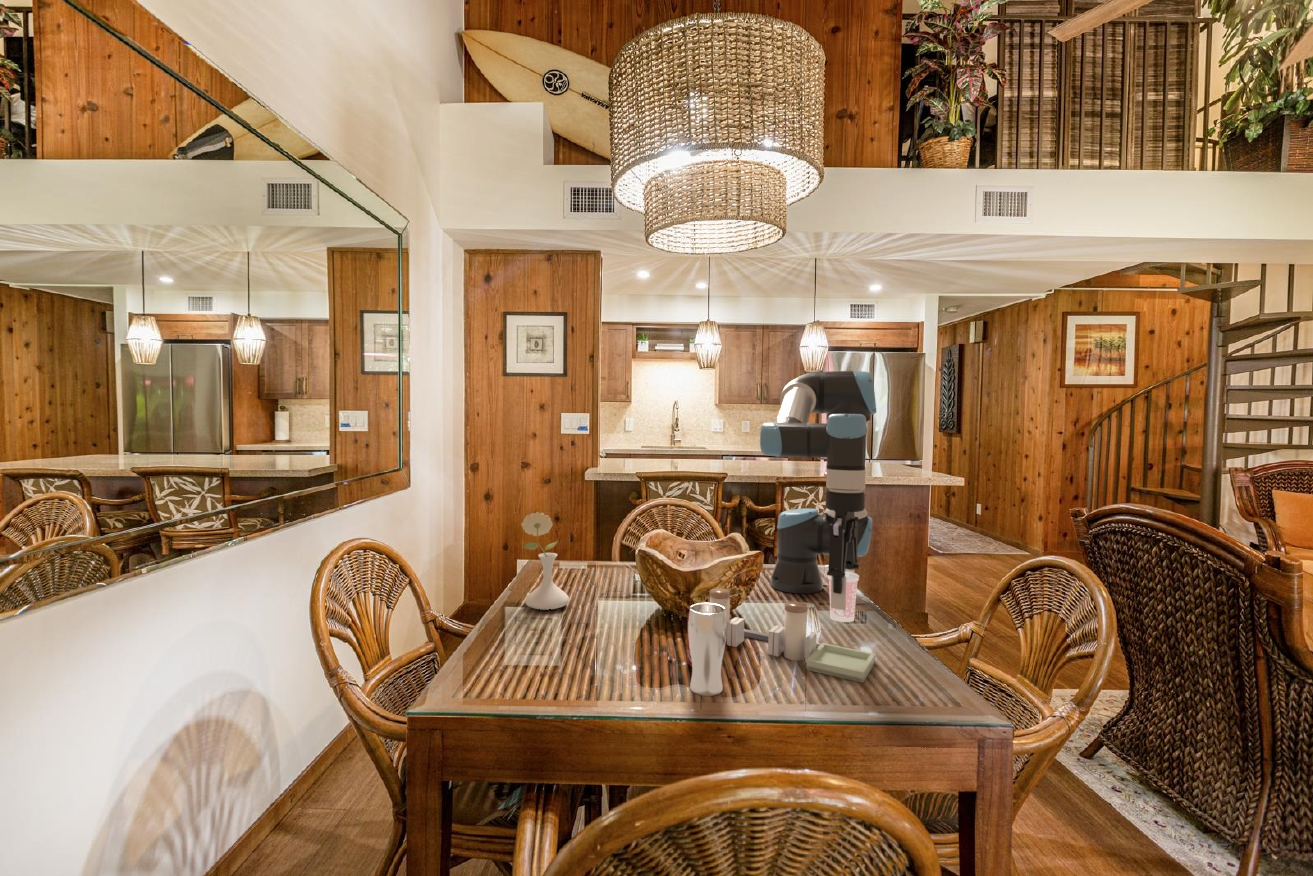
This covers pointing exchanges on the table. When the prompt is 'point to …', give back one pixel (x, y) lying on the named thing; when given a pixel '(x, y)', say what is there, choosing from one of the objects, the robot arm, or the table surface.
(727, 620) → the cylinder
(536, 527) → the flower in vase
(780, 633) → the holder
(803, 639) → the cylinder
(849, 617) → the beverage cup
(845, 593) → the robot arm
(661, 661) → the table surface
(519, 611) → the table surface
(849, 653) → the tray
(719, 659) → the beer glass
